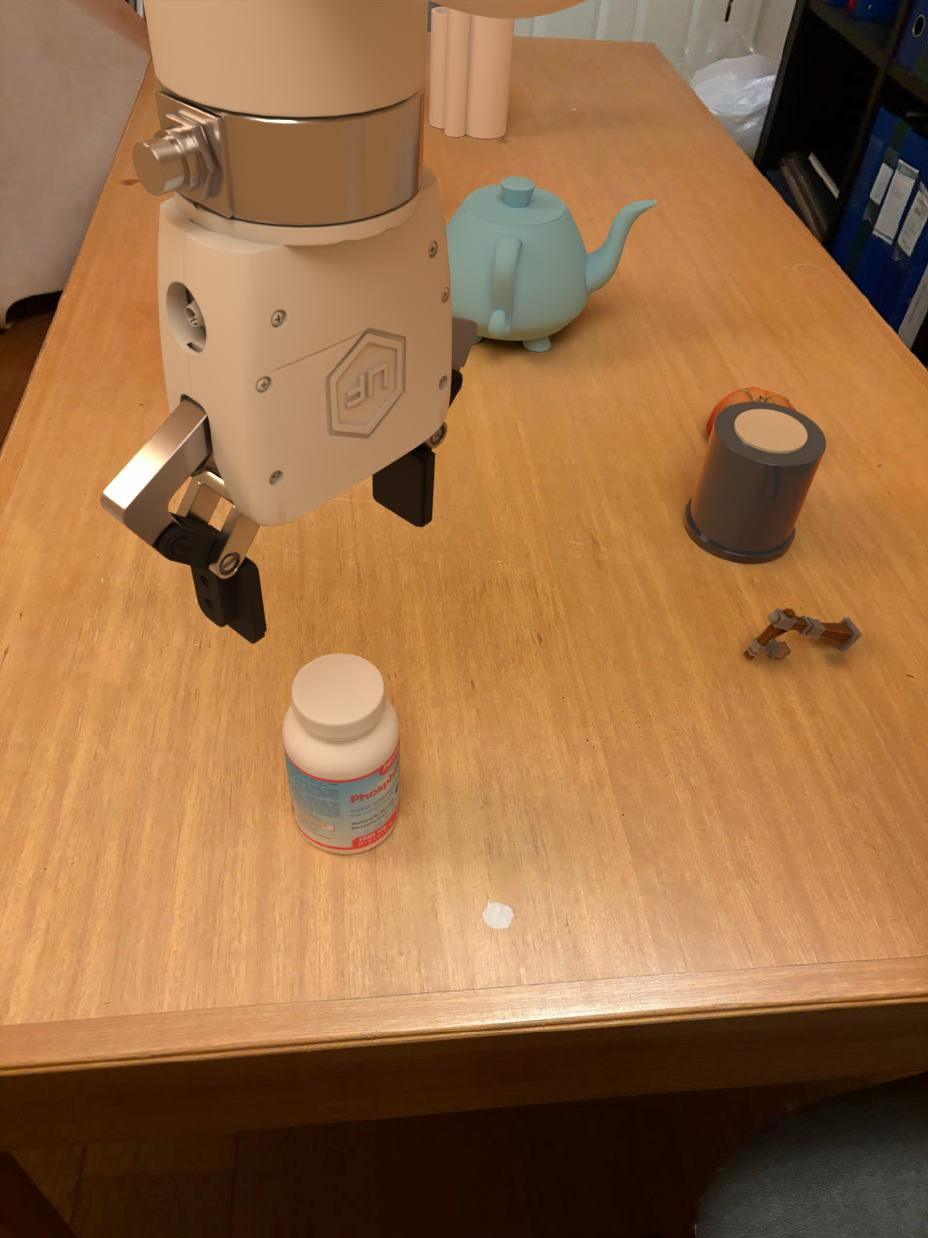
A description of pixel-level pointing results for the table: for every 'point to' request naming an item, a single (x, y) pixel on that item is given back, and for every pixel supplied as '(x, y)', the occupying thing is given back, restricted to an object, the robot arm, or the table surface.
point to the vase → (469, 73)
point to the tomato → (746, 396)
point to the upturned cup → (753, 481)
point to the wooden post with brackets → (786, 621)
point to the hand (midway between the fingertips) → (324, 563)
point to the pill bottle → (342, 754)
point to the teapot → (526, 261)
